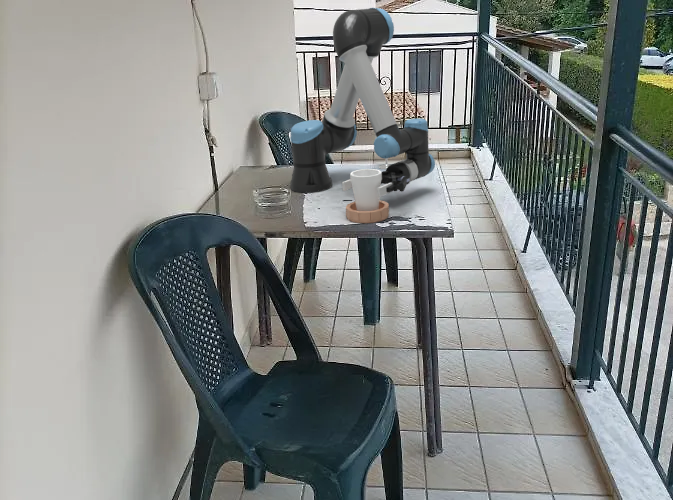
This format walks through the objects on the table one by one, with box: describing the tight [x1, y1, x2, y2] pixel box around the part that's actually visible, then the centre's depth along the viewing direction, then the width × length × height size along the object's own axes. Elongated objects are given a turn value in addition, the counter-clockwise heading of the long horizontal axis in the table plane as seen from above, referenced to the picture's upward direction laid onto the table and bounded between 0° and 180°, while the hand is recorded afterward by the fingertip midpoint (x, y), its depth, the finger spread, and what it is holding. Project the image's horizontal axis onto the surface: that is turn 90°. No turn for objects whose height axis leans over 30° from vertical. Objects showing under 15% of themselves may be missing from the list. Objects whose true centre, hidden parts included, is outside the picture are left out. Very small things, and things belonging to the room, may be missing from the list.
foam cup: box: [349, 168, 383, 211], centre depth 195 cm, size 10×9×13 cm
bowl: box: [345, 199, 390, 224], centre depth 197 cm, size 13×13×3 cm
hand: (360, 189), depth 192 cm, fingers open, 13 cm apart
